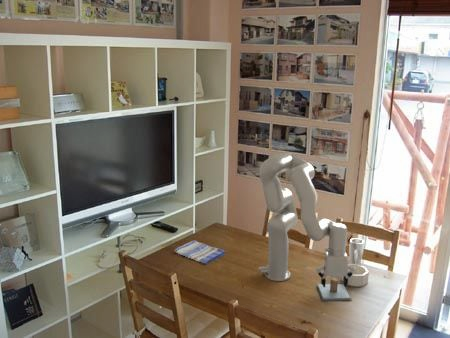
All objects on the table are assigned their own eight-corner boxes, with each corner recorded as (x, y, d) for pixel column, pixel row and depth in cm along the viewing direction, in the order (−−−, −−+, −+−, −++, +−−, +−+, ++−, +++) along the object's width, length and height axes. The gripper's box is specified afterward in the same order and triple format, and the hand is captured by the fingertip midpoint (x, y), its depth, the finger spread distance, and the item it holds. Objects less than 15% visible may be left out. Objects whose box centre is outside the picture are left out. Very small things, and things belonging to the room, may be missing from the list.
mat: (322, 300, 205) (322, 299, 205) (316, 285, 218) (316, 285, 218) (351, 300, 206) (351, 299, 205) (344, 285, 218) (344, 285, 218)
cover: (323, 299, 206) (324, 287, 204) (317, 285, 217) (318, 274, 216) (350, 299, 206) (351, 287, 204) (343, 285, 218) (344, 274, 216)
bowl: (345, 287, 217) (346, 275, 215) (338, 275, 228) (339, 264, 226) (369, 287, 217) (371, 275, 215) (362, 275, 228) (363, 264, 227)
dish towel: (194, 243, 265) (194, 238, 264) (226, 254, 251) (226, 250, 250) (172, 253, 252) (172, 248, 251) (205, 266, 238) (205, 261, 237)
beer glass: (362, 272, 231) (364, 244, 227) (347, 270, 233) (350, 243, 229) (361, 265, 238) (363, 238, 234) (347, 264, 239) (349, 237, 235)
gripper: (319, 254, 203) (316, 289, 207) (358, 254, 203) (355, 289, 207) (315, 247, 210) (313, 281, 214) (353, 247, 210) (350, 281, 215)
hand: (334, 285), depth 211 cm, fingers open, 9 cm apart
